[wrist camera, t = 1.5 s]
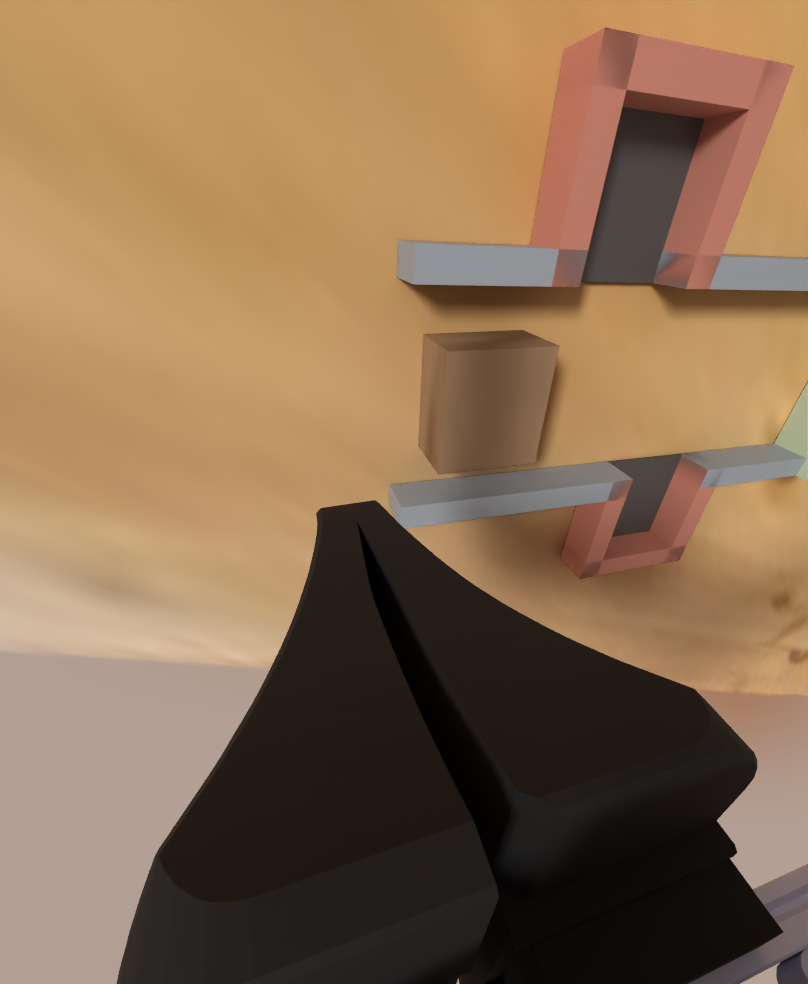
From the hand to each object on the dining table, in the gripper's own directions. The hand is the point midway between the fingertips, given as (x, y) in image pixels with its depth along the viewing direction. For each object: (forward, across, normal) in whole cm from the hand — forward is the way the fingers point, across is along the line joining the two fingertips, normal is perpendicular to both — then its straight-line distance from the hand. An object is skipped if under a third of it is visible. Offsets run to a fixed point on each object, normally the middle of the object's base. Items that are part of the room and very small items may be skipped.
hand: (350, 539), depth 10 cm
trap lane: (+9, -17, +1) cm, 19 cm away
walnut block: (+10, -7, 0) cm, 12 cm away
